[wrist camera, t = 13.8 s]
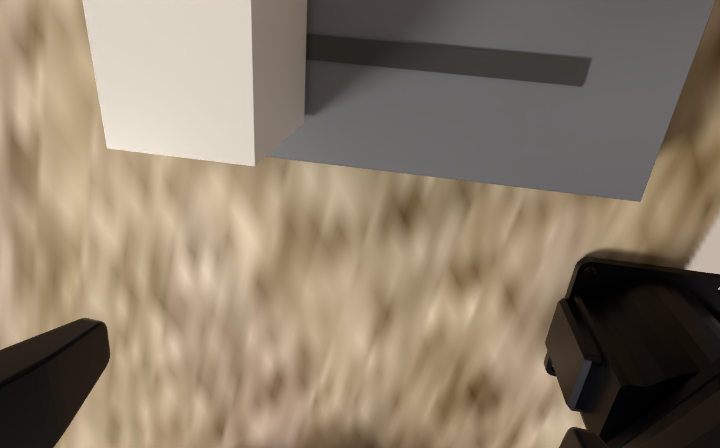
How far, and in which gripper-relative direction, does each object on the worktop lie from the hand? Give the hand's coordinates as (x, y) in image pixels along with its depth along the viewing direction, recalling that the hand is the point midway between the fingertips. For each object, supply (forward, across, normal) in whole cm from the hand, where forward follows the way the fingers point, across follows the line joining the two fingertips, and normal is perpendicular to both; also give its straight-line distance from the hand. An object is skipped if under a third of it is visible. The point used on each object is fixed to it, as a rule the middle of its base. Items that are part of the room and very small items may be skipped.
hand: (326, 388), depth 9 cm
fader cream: (+9, +5, -5) cm, 12 cm away
